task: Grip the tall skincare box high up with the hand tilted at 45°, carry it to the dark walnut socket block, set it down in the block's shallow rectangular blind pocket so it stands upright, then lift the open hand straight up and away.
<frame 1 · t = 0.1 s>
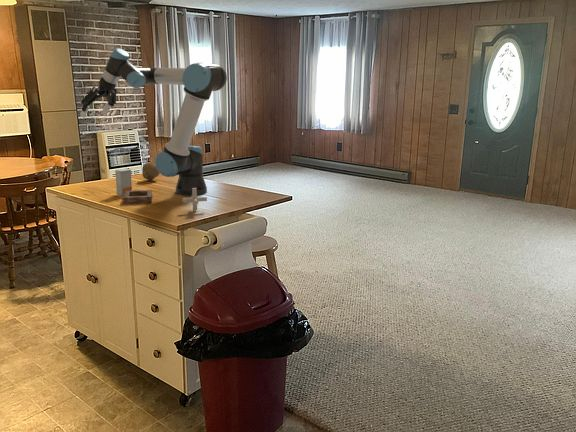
hand: (93, 115, 247), 36 cm above the table, tool tilted 35°, fingers open, 13 cm apart
natural sponge: (151, 180, 273), on the table
pipe connector: (195, 211, 214), on the table
socket: (138, 200, 231), on the table
skincare box: (124, 194, 241), on the table
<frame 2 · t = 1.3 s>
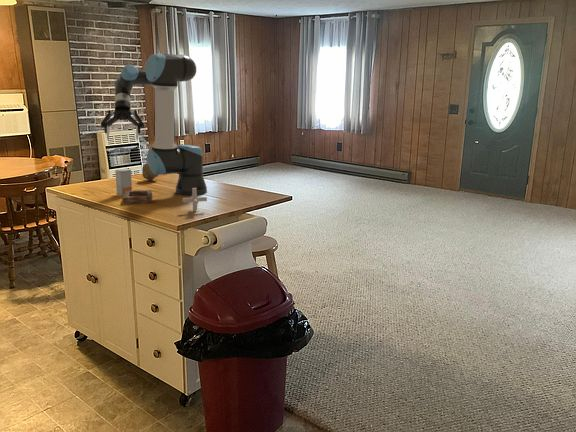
hand: (122, 138, 244), 26 cm above the table, tool tilted 45°, fingers open, 13 cm apart
nothing on the table moved.
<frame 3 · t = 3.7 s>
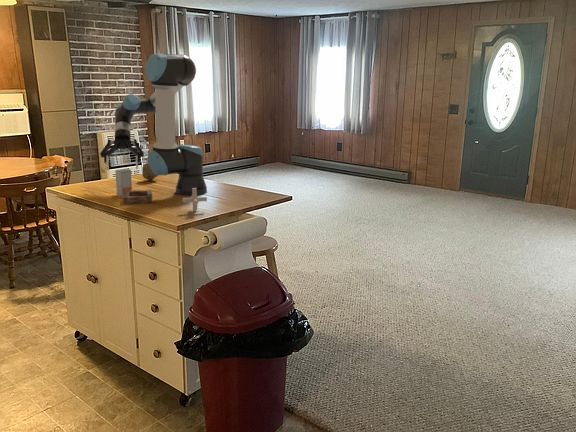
hand: (122, 168, 242), 12 cm above the table, tool tilted 45°, fingers open, 13 cm apart
nothing on the table moved.
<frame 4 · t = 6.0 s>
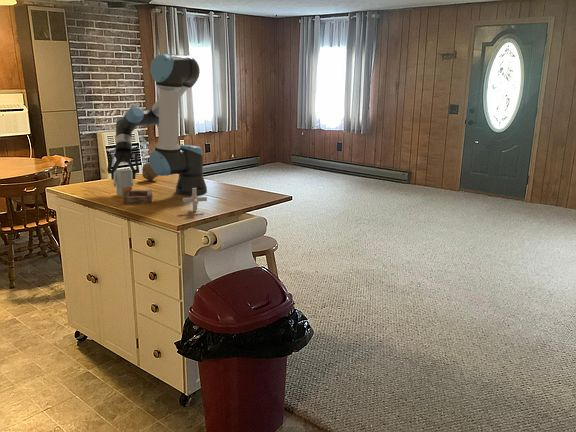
hand: (123, 184, 236), 6 cm above the table, tool tilted 45°, fingers closed on skincare box, 7 cm apart
skincare box: (124, 194, 241), on the table, touching gripper
everything else where it was.
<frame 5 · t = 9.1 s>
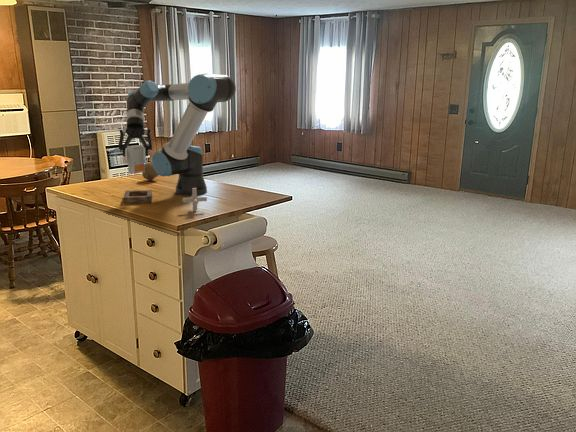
hand: (135, 161, 223), 18 cm above the table, tool tilted 45°, fingers closed on skincare box, 7 cm apart
skincare box: (136, 172, 228), point 13 cm above the table, touching gripper
everything else where it was.
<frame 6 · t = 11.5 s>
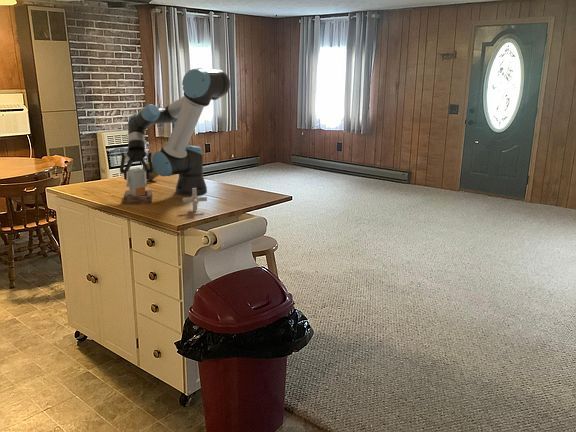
hand: (136, 185, 226), 8 cm above the table, tool tilted 45°, fingers closed on skincare box, 7 cm apart
skincare box: (137, 195, 231), point 2 cm above the table, touching gripper
everything else where it was.
when the fingers open (7 cm above the table, at t = 12.3 s): skincare box stays where it is, resting on socket.
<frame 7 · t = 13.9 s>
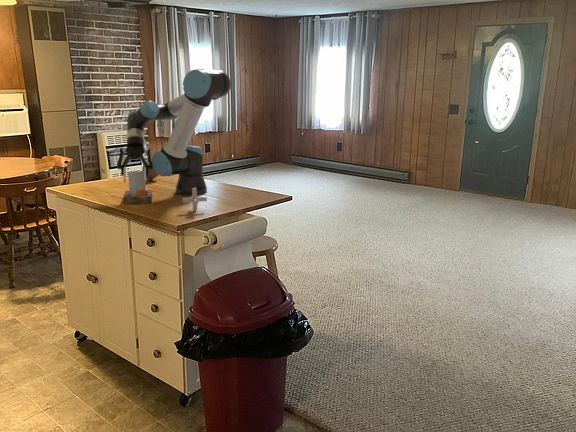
hand: (134, 180, 225), 10 cm above the table, tool tilted 45°, fingers open, 8 cm apart
skincare box: (138, 197, 231), point 1 cm above the table, touching gripper, socket
everything else where it was.
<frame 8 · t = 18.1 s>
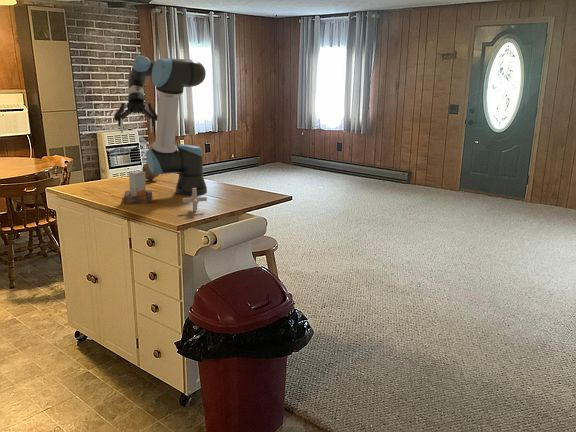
hand: (136, 131, 238), 30 cm above the table, tool tilted 45°, fingers open, 13 cm apart
skincare box: (138, 198, 231), point 1 cm above the table, touching socket
everything else where it was.
at the end: skincare box 0.1 cm off-centre on the socket, point 0.8 cm above the socket's base; skincare box tilted 0°; the gripper is holding nothing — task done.
